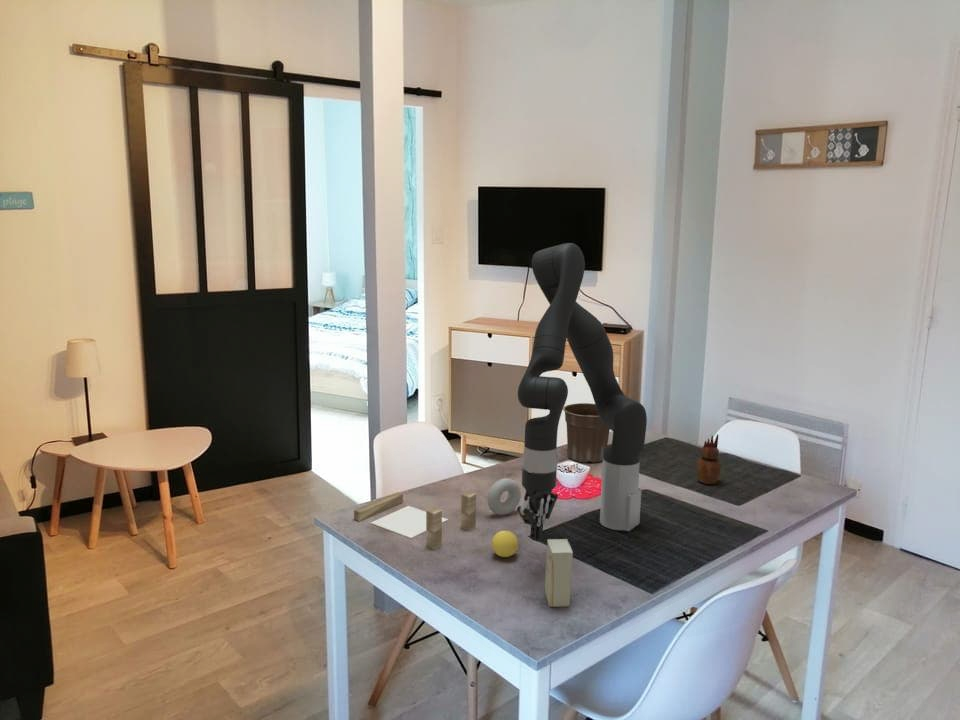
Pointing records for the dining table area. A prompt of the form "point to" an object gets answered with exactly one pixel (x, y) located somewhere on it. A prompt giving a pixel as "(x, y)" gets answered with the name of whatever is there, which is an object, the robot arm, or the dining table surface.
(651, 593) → the dining table surface
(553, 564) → the skincare box
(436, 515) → the post left
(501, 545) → the ball
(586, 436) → the plant pot
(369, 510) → the wall
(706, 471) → the wooden figurine
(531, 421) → the robot arm
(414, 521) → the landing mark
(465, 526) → the post right
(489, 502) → the donut
